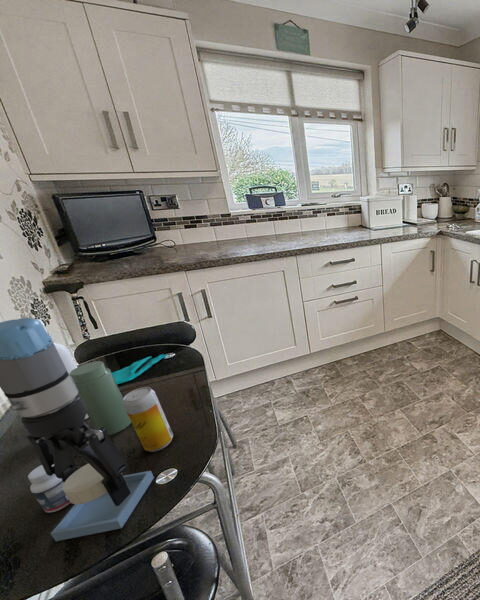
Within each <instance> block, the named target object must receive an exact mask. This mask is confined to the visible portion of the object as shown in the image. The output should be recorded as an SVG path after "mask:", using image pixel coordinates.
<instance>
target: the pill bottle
mask: <svg viewBox="0 0 480 600" xmlns="http://www.w3.org/2000/svg"><path fill="white" fill-rule="evenodd" d="M53 466H54V464H53V465H52V467H53ZM27 479H28V480H29V482H30V483H31V484H30V487H29V490H30V492H31V493H32V495H33V496H34V498H35V499H36V501H37V502H38V504H39V505H40V506H41V508H42V510H43V511H44V512H45V513H50V514H51V513H56V512H58V511H60V510H62V509H64V508H66V507H67V506H69V505H71V504H72V503H71V502H70V501H69V499H68V498H67V496H66V494H65V493H64V491H63V484H64V482H63V481H62V479H59V478H57V477H56V475H55V474H53V475H52V476H48V475H47V474H46V472H45V470H44V468H43V465H42V464H41V465H38V466H37V467H35V468H34V469H33V470H32V471H30V472H29V474H28V475H27Z"/></svg>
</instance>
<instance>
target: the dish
mask: <svg viewBox="0 0 480 600" xmlns="http://www.w3.org/2000/svg"><path fill="white" fill-rule="evenodd" d="M122 476H123V478H124V480H125V481H126V485H127V487H128V489H129V491H130V492H131V494H130V495H129V496H128V497H127V498H126V499H125V500H124V501H123V502H122V503H121V504H120V505H119V506H115V504H114V503H113V501H112V499H111V497H110V495H109V494H108V492H107V493H105V494H104V495H102V496H100V497H99V498H97V499H95V500H92V501H90V502H87V503H83V504H73V506H71V508H70V509H69V511H68V512H67V513H66V514H65V516H64V517H63V518H62V519H61V521H60V522H59V523H58V524H57V525H56V526H55V528H53V530H52V531H51V532H50V535H51V537H52V538H53V539H54V541H55V542H59V541H65V540H69V539H75V538H79V537H84V536H89V535H95V534H99V533H105V532H110V531H116V530H121V529H122V528H123V527H124V526H125V524H126V523H127V521H128V519H129V518H130V517H131V515H132V514H133V511H135V509H136V507H137V505H138V504H139V502H140V500H141V499H142V497H143V496H144V495H145V493H146V491H147V489H148V488H149V486H150V485H151V484H152V482H153V480H154V479H155V476H154V474H153V472H152V471H151V470H147V471H141V472H136V473H130V474H125V475H122Z"/></svg>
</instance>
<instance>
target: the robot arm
mask: <svg viewBox="0 0 480 600" xmlns="http://www.w3.org/2000/svg"><path fill="white" fill-rule="evenodd" d="M37 319H38V318H34V317H22V318H21V317H20V318H17V319H16V318H15V319H9V320H4V321H1V322H0V389H1V391H2V392H3V394H4V396H5V397H6V398H7V400H8V401H9V403H10V404H11V405H10V409H11V410H12V411H15V412H16V414H17V415H18V417H20V418H21V419H20V421H21V423H22V424H23V426H24V428H25V429H26V431H27V433H28V435H27V436H26V438H27V440H28V441H29V442H30V443H31V444H32V446H33V448H34V450H35V452H36V454H37V456H38V458H39V461H40V463H41V465H43V468H44V470H45V472H46V474H47V475H48V476H52V475H53V474H55V475H56V477H57V478H59V479H62V481H63V482H65V481H66V480H67V479H68V477H69V476H70V475H72V474H73V473H74V472H75V471H77V470H78V469H80V468H81V467H77V466H78V465H79V464H80V463H78V462H75V457H81V458H82V459H83V460H84V461H85V462H86V463H87V464H88V463H89V464H90V465H91V466H92V467H93V468H94V469H95V470H96V471H97V472H98V473H99V474H100V475H101V476H102V477H103V478H104V479H103V480H102V482H101V483H103V485H104V487H105V488H106V490H107V492H108V494H109V495H110V497H111V499H112V501H113V503H114V504H115V506H119V505H120V504H121V503H122V502H123V501H124V500H125V499H126V498H127V497H128V496H129V495H130V494H131V492H130V491H129V489H128V487H127V485H126V481H125V480H124V478H123V476H124V475H123V473H124V472H125V471H126V470H127V469H128V468H129V463H128V461H127V460H126V459H125V457H124V456H123V455H122V454H121V452H120V450H119V449H118V448H117V446H116V445H115V443H114V441H112V439H111V438H110V435H108V432H107V429H106V428H105V427H100V428H99V429H98V430H95V429H93V428H92V427H91V426H90V425H89V424H88V423H87V422H86V421H85V420H86V419H85V416H86V414H87V411H88V409H87V407H86V405H85V403H84V401H83V400H82V398H81V396H80V395H77V394H78V389H77V387H76V386H75V384H74V382H73V380H72V378H71V376H70V375H69V373H68V372H67V369H66V367H65V365H64V363H63V361H62V359H61V357H60V355H59V353H58V351H57V349H56V347H55V345H54V343H55V342H54V341H53V338H52V336H51V335H50V333H49V332H48V331H47V332H48V333H47V332H46V330H47V329H46V328H45V329H46V330H45V329H44V327H45V326H44V327H43V325H42V324H41V322H40V321H38V320H37ZM53 342H54V343H53ZM84 419H85V420H84ZM53 464H54V466H53V467H52V465H53ZM121 473H122V474H121Z"/></svg>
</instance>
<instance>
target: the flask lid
mask: <svg viewBox="0 0 480 600" xmlns="http://www.w3.org/2000/svg"><path fill="white" fill-rule="evenodd" d="M79 468H80V469H78V470H77V471H75V472H74V473H73V474H72V475H70V476H69V477H68V479H67V480H66V481H65V482H64V484H63V491H64V493H65V494H66V496H67V498H68V499H69V501H70V502H71V503H70V504H73V505H75V504H83V503H87V502H90V501H92V500H95V499H97V498H99V497H100V496H102V495H104V494H105V493H107V490H106V488H105V487H104V485H103V483H101V482H102V480H103V479H104V478H103V477H102V476H101V475H100V474H99V473H98V472H97V471H96V470H95V469H94V468H93V467H92V466H91V465H90V464H89V463H88V462H87V464H85V465H83V466H81V467H79ZM121 474H122V475H123V472H122V473H121Z"/></svg>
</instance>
